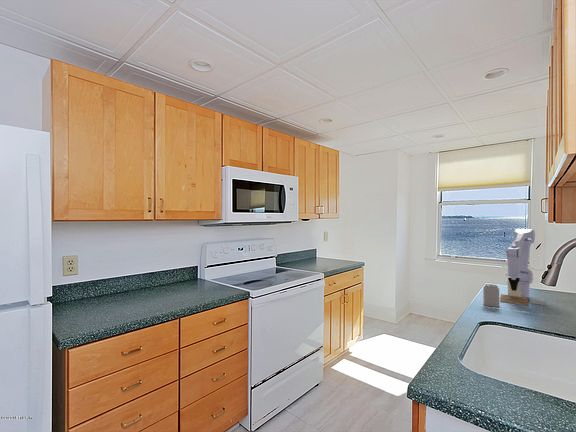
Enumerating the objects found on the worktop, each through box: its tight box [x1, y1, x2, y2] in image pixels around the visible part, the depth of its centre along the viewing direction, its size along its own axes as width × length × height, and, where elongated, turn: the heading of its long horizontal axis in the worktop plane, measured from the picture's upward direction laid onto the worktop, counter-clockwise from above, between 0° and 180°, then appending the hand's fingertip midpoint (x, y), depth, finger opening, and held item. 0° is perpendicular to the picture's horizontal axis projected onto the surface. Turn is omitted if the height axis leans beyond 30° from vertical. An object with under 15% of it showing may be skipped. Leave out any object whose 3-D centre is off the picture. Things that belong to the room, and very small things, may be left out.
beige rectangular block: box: [507, 279, 520, 297], centre depth 184 cm, size 2×6×9 cm, turn 52°
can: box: [482, 283, 500, 308], centre depth 173 cm, size 8×8×12 cm
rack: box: [499, 293, 529, 306], centre depth 182 cm, size 13×13×3 cm
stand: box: [529, 297, 547, 306], centre depth 177 cm, size 6×7×3 cm
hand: (514, 290), depth 184 cm, fingers closed on beige rectangular block, 2 cm apart
